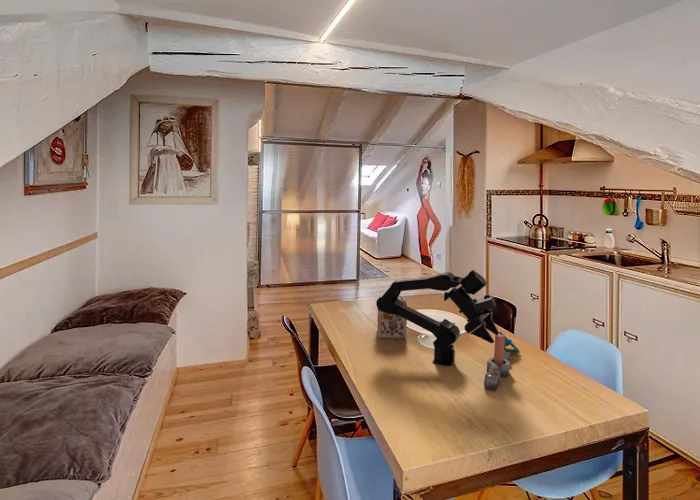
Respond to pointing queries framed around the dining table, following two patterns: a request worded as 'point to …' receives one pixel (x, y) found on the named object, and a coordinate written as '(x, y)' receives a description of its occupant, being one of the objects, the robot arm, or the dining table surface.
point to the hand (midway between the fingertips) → (495, 338)
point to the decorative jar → (392, 324)
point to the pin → (499, 349)
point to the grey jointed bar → (496, 372)
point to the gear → (508, 342)
